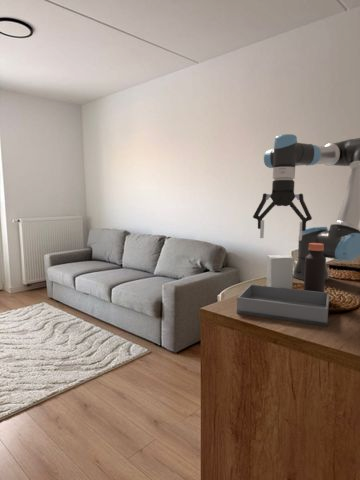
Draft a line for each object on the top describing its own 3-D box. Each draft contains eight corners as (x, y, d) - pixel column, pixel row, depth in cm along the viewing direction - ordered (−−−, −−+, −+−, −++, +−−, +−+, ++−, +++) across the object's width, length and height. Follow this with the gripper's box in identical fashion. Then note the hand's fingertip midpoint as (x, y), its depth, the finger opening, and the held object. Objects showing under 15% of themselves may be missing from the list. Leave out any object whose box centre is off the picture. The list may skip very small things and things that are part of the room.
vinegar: (326, 302, 116) (330, 245, 114) (306, 301, 116) (309, 245, 114) (319, 296, 123) (322, 242, 120) (300, 296, 123) (303, 242, 121)
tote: (249, 297, 121) (250, 284, 120) (328, 307, 110) (329, 292, 110) (236, 312, 105) (237, 297, 104) (327, 326, 94) (328, 309, 93)
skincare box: (287, 292, 128) (288, 254, 126) (292, 297, 122) (294, 257, 120) (265, 292, 127) (266, 254, 125) (270, 297, 121) (271, 257, 120)
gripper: (246, 179, 121) (244, 237, 124) (320, 178, 111) (317, 242, 113) (251, 180, 128) (249, 236, 130) (321, 180, 117) (318, 239, 120)
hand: (280, 239), depth 122 cm, fingers open, 13 cm apart
